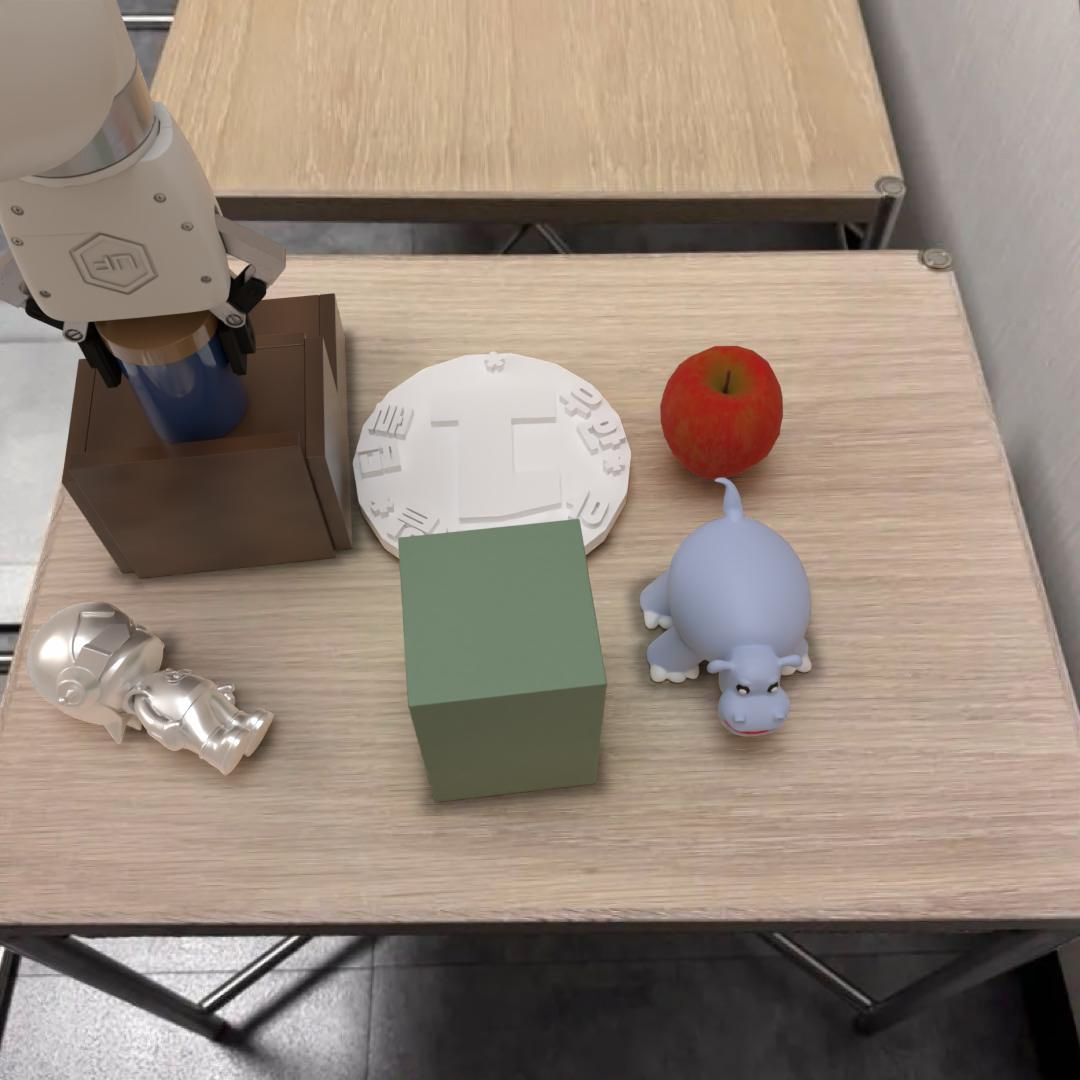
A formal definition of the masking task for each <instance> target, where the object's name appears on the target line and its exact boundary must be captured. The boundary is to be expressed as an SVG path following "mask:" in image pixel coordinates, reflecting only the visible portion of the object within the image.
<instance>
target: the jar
mask: <svg viewBox="0 0 1080 1080" xmlns="http://www.w3.org/2000/svg"><path fill="white" fill-rule="evenodd" d="M94 324H95V327H96V329H97V331H98V333H99V335H100V337H101V339H102V341H103V343H104V345H105V346H106V348H107V349H108V350H109V351H110V352H111V353H112V354H113V355H114V356H115V358H116V360H117V362H118V364H119V366H120V368H121V370H122V372H123V374H124V376H125V378H126V380H127V382H128V384H129V386H130V388H131V390H132V392H133V394H134V396H135V398H136V400H137V402H138V404H139V406H140V408H141V410H142V412H143V414H144V416H145V418H146V420H147V421H148V423H149V425H150V427H151V429H152V430H153V431H154V432H155V433H156V434H157V435H158V436H159V437H161V438H162V439H164V440H166V441H168V442H171V443H184V442H194V441H204V440H214V439H218V438H220V437H222V436H224V435H225V434H227V433H228V432H230V431H231V430H232V429H233V428H234V427H235V426H237V424H238V423H239V422H240V421H241V419H242V418H243V416H244V414H245V412H246V409H247V405H248V394H247V390H246V387H245V384H244V382H243V379H242V376H241V375H240V376H237V374H234V373H233V371H232V368H231V366H230V363H229V360H228V358H227V355H226V352H225V350H224V347H223V344H222V342H221V339H220V337H219V332H218V324H219V318H218V317H217V316H215V315H214V314H213V313H212V312H211V311H210V310H204V311H197V312H190V313H180V314H170V315H161V316H150V317H140V318H129V319H117V320H105V321H94Z"/></svg>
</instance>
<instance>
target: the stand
mask: <svg viewBox="0 0 1080 1080" xmlns="http://www.w3.org/2000/svg"><path fill="white" fill-rule="evenodd" d="M398 547H399V558H398V563H399V579H400V595H401V611H402V626H403V628H402V629H403V644H404V645H403V646H404V660H405V661H404V662H405V677H406V693H407V695H406V696H407V707H408V711H409V714H410V718H411V722H412V726H413V728H414V732H415V735H416V739H417V743H418V748H419V750H420V754H421V758H422V762H423V765H424V768H425V773H426V775H427V779H428V783H429V786H430V790H431V793H432V797H433V801H434V803H444V802H451V801H459V800H468V799H477V798H485V797H495V796H500V795H508V794H509V795H510V794H517V793H518V794H519V793H526V792H527V793H528V792H536V791H543V790H552V789H558V788H559V789H560V788H568V787H574V786H575V787H577V786H584V785H585V786H586V785H593V784H596V781H597V773H598V764H599V754H600V747H601V738H602V730H603V721H604V712H605V706H606V705H605V704H606V697H607V686H608V679H607V674H606V667H605V663H604V657H603V651H602V645H601V644H602V643H601V639H600V632H599V627H598V621H597V615H596V610H595V609H596V608H595V602H594V596H593V590H592V586H591V585H592V584H591V579H590V573H589V567H588V560H587V555H586V554H585V549H584V543H583V537H582V531H581V525H580V520H579V519H572V520H563V521H553V522H543V523H534V524H524V525H515V526H505V527H496V528H486V529H477V530H467V531H458V532H448V533H439V534H429V535H419V536H410V537H400V538H398Z"/></svg>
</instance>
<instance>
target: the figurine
mask: <svg viewBox="0 0 1080 1080" xmlns="http://www.w3.org/2000/svg"><path fill="white" fill-rule="evenodd" d="M165 647H166V644H165V643H164V642H163V641H162V640H161V638H160V637H159V636H157V635H155V634H153V633H150V632H149V629H148V628H147V627H145V626H143V625H142V624H140V622H135V620H134V619H133V618H132V617H130V616H129V615H128V614H127V613H125V612H124V611H122V610H121V609H120V608H119V607H117V606H116V605H113V604H111V603H108V602H106V601H103V600H93V601H92V600H89V601H83V602H78V603H73V604H71V605H69V606H66V607H64V608H61V609H60V610H58V611H57V612H55V613H54V614H52V615H51V616H50V617H49V618H47V620H45V621H44V623H42V625H41V626H40V627H39V628H38V630H36V632H35V633H34V635H33V637H32V639H31V640H30V642H29V645H28V649H27V652H26V671H27V674H28V678H29V681H30V683H31V685H32V686H33V688H34V690H35V691H36V692H37V693H38V694H39V695H40V697H41V698H42V699H43V700H45V701H46V702H47V703H48V704H49V705H51V706H52V707H54V708H55V709H57V710H58V711H60V712H61V713H63V714H65V715H67V716H69V717H71V718H73V719H76V720H79V721H82V722H85V723H89V724H92V725H98V726H103V727H104V728H105V729H106V731H107V732H108V734H109V735H110V736H111V738H112V739H113V741H114V742H115V743H116V744H117V745H120V744H121V743H122V742H123V739H124V734H125V731H126V728H127V726H128V727H130V728H132V729H134V730H137V731H141V730H142V729H143V727H144V728H145V730H146V731H147V734H148V735H149V736H150V737H152V738H153V739H154V740H156V741H157V742H159V743H160V744H161V745H162V746H163V747H165V748H166V749H168V750H169V751H171V752H178V751H179V750H182V749H183V750H184V749H185V750H188V751H191V752H192V753H195V754H197V755H198V758H199V759H200V760H204V761H206V762H207V763H208V764H209V765H211V766H212V767H214V768H215V769H217V770H218V771H219V772H220V773H221V774H222V775H224V776H228V775H229V774H231V773H232V772H233V771H234V769H235V768H236V767H237V766H238V764H239V763H240V761H241V759H242V757H243V755H244V756H246V757H247V758H248V757H250V756H252V754H254V753H255V751H256V750H257V749H258V747H259V746H260V744H261V743H262V741H263V739H264V738H265V736H266V734H267V732H268V730H269V728H270V726H271V724H272V721H273V720H274V716H275V715H274V713H273V712H271V711H270V710H265V709H264V708H261V707H257V708H255V709H254V710H253V711H252V712H251V713H247V712H245V711H244V710H241V709H239V708H238V707H236V697H235V695H234V693H233V692H234V691H235V689H236V685H234V683H232V682H231V683H230V682H229V683H227V682H226V683H224V684H221V685H219V684H217V683H215V682H214V681H212V680H211V679H210V678H204V677H202V676H199V675H197V674H194V673H193V672H192V670H191V669H189V668H183V669H179V670H175V668H173V667H168V668H165V669H164V670H160V669H161V666H162V663H163V657H164V649H165ZM183 671H184V672H183ZM185 671H187V672H185Z"/></svg>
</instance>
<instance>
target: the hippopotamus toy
mask: <svg viewBox="0 0 1080 1080" xmlns="http://www.w3.org/2000/svg"><path fill="white" fill-rule="evenodd" d="M714 482H715V483H719V484H723V485H724V486H725V492H724V497H723V500H722V501H723V502H722V511H723V517H721V518H715V519H713V520H710V521H708V522H705V523H703V524H702V525H700V526H699V527H697V528H695V529H694V530H693V531H691V532H690V534H688V535H687V536H686V537H685V539H683V541H682V542H680V544H679V546H678V547H677V548H676V551H675V552H674V554H673V556H672V558H671V560H670V563H669V566H668V568H667V569H665V570H664V572H663V573H661V574H660V575H659V576H658V577H657V578H655V579H654V580H653V581H651V582H650V584H647V586H646V587H645V588H643V590H642V592H641V593H640V596H639V605H640V608H641V610H642V612H643V619H644V624H645V627H646V628H647V629H651V630H653V629H656V628H657V627H658V626H660V627H661V628H663V629H665V631H664V632H662V633H661V634H660V635H659V636H657V637H656V638H655V639H654V640H652V641H651V642H650V644H649V645H648V647H647V650H646V660H647V663H648V664H649V666H650V670H649V675H650V678H651V679H652V681H653V682H655V683H661V682H664V681H666V680H668V681H670V682H672V683H677V684H678V683H680V684H681V683H684V681H686V679H687V678H688V679H690V680H695V679H697V678H698V677H699V675H700V666H699V665H700V664H701V663H702V662H703V661H707V662H709V663H708V664H707V666H706V671H707V672H708V673H710V674H717V673H718V685H719V689H720V692H721V695H720V698H719V700H718V703H717V710H716V711H717V716H718V718H719V720H720V722H721V724H722V725H723V726H724V727H725V729H726V730H727V731H729V732H730V733H731V734H733V735H737V736H741V737H759V736H765V735H768V734H769V735H770V734H771V733H774V732H776V731H777V730H779V728H781V727H782V726H783V725H784V724H785V723H786V721H787V719H788V716H789V714H790V711H791V701H790V698H789V696H788V694H787V693H786V691H785V690H784V689H783V688H782V687H781V685H780V684H781V677H782V676H790V675H793V674H794V673H795V672H796V671H798V672H801V673H807V672H810V671H811V670H812V662H811V660H810V658H809V651H810V650H809V644H808V641H807V640H806V638H805V635H806V633H807V630H808V627H809V624H810V621H811V614H812V593H811V586H810V583H809V579H808V575H807V572H806V570H805V567H804V564H803V563H802V561H801V559H800V556H799V555H798V554H797V552H796V551H795V549H794V548H793V547H792V546H791V544H790V543H789V542H788V541H787V540H786V539H785V538H784V537H783V536H782V535H781V534H780V533H778V532H777V531H776V530H775V529H773V528H771V526H769V525H768V524H765V523H764V522H761V521H759V520H757V519H754V518H751V517H748V516H746V515H745V512H744V507H743V503H742V499H741V496H740V493H739V490H738V489H737V486H736V485H735V484H734V483H733V481H731V480H730V479H728V478H716V479H715V480H714Z"/></svg>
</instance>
